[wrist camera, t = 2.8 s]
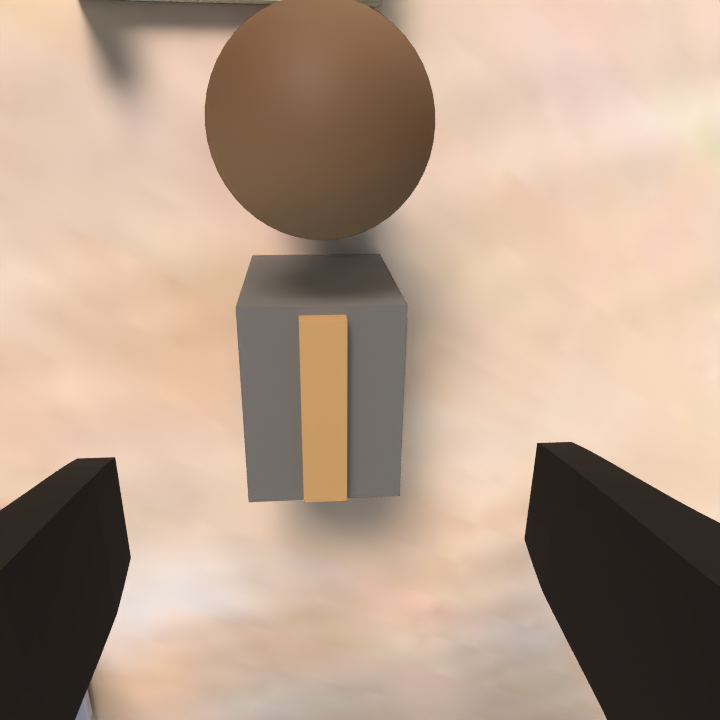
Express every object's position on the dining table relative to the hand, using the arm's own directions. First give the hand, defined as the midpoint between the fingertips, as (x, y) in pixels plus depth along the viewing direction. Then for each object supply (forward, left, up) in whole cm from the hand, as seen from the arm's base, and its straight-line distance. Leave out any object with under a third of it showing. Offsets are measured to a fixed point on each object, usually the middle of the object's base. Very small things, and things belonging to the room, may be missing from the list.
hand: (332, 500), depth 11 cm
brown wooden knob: (+6, 0, -8) cm, 10 cm away
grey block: (0, 0, -9) cm, 9 cm away
